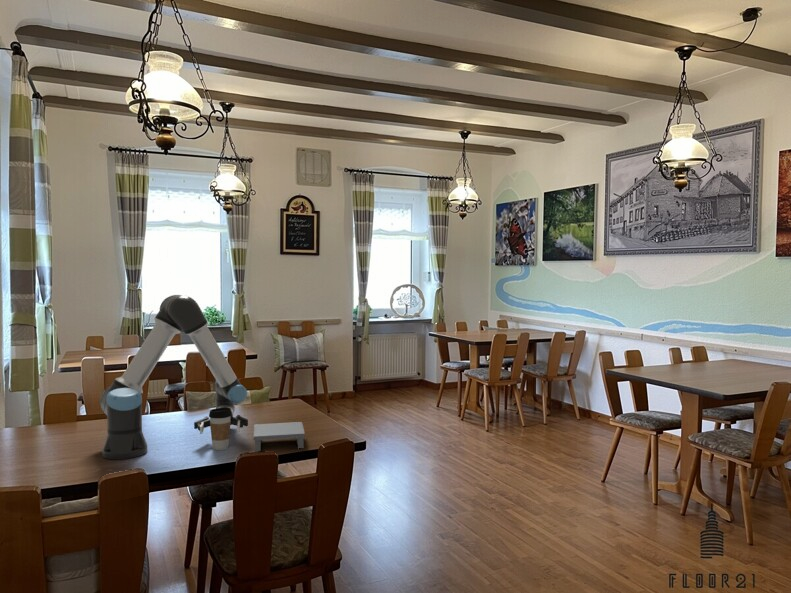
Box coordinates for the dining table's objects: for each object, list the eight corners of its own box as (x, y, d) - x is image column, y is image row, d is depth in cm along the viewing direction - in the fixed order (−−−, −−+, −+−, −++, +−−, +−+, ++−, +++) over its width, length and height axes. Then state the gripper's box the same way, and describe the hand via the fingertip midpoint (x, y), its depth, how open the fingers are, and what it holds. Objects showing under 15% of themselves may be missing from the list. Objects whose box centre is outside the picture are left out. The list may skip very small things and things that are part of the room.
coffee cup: (225, 451, 217) (225, 412, 217) (204, 450, 219) (204, 410, 218) (235, 445, 225) (235, 407, 225) (216, 443, 227) (215, 406, 227)
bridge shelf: (253, 452, 216) (253, 436, 216) (254, 439, 234) (254, 424, 233) (304, 449, 220) (304, 433, 220) (301, 436, 238) (301, 421, 238)
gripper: (254, 423, 242) (253, 437, 222) (191, 426, 237) (185, 441, 216) (254, 405, 242) (253, 417, 221) (191, 408, 237) (185, 421, 216)
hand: (219, 429), depth 219 cm, fingers open, 13 cm apart
